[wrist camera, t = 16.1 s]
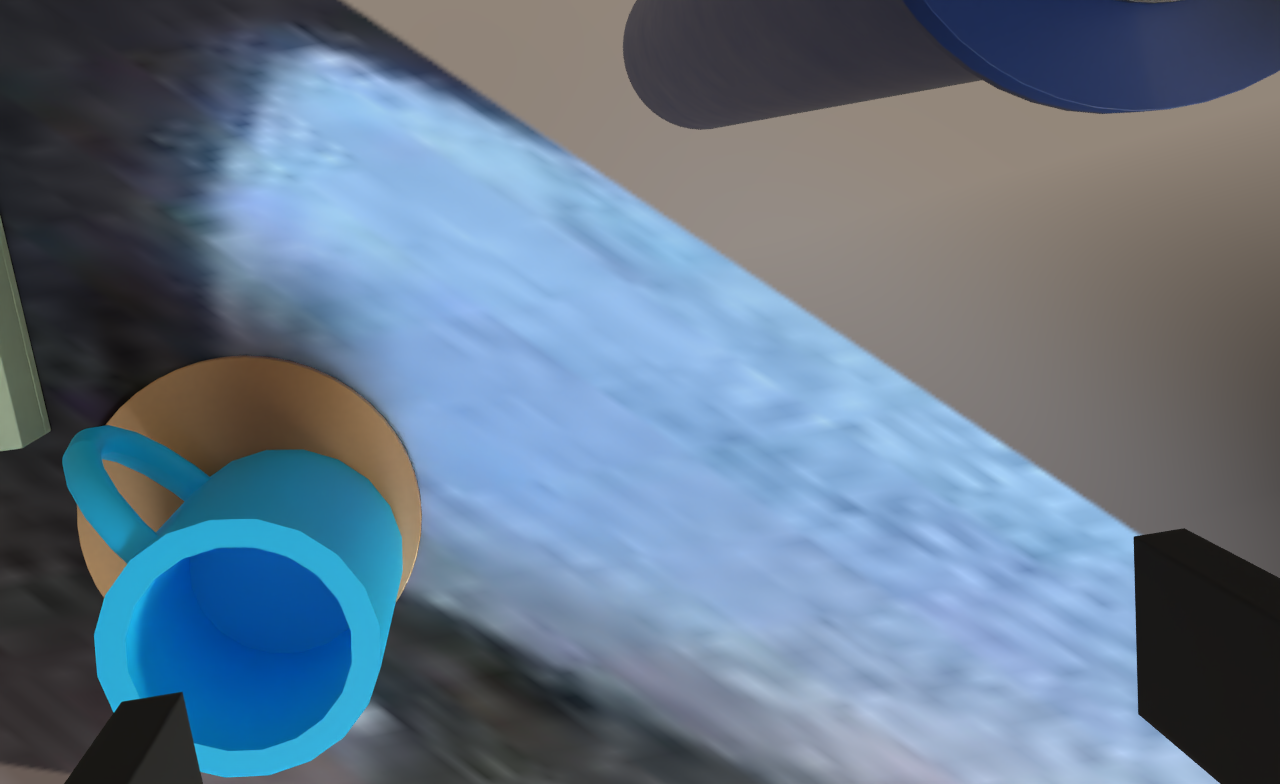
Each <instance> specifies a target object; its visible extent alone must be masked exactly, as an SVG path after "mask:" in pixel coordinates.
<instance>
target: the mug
mask: <svg viewBox="0 0 1280 784" xmlns="http://www.w3.org/2000/svg"><path fill="white" fill-rule="evenodd" d="M102 459H104V460H108V461H113V462H117V463H119V464H122V465H124V466H126V467H128V468H130V469H133V470H135V471H137V472H139V473H142V474H144V475H145V476H147V477H149V478H150V479H152V480H153V481H155V482H157V483H158V484H160V485H162V486H163V487H165V488H166V489H168V490H170V491H171V492H173V493H174V494H175V495H177V496H178V497H179V498H180V499H182V500H183V501H184V503H183V504H182V505H181V506H180V507H179V508H178V509H177V510H176V511H175V512H174V513H173V515H172V516H171V517H170V518H169V519H168V520H167V521H166V522H165V523H164V524H163V525H162V526H161V527H160V528H159V530H158V531H157V532H154V531H153V530H152V529H151V528H150V527H149V526H148V525H147V524H146V523H145V522H144V521H143V520H142V519H141V518H140V517H139V515H138V514H137V513H136V512H135V511H134V509H133V508H132V507H131V506H130V505H129V504H128V502H127V501H126V500H125V499H124V498H123V496H122V495H121V494H120V493H119V492H118V490H117V488H116V487H115V485H114V483H113V482H112V480H111V478H110V477H109V475H108V473H107V472H106V470H105V468H104V465H103V461H102ZM62 464H63V469H64V474H65V478H66V483H67V487H68V489H69V491H70V493H71V494H72V496H73V498H74V500H75V501H76V503H77V505H78V507H79V508H80V510H81V512H82V514H83V515H84V517H85V518H86V520H87V521H88V522H89V523H90V524H91V526H92V527H93V528H94V529H95V530H96V532H97V533H98V534H99V535H100V536H101V537H102V539H103V540H104V541H105V542H106V543H107V545H108V546H109V547H110V548H111V549H112V550H113V551H114V552H115V553H116V554H117V555H118V556H119V557H120V558H121V559H122V560H124V561H125V562H126V563H127V565H126V567H125V568H124V569H123V571H122V572H121V574H120V575H119V576H118V578H117V579H116V581H115V582H114V583H113V585H112V586H111V588H110V589H109V590H108V592H107V593H106V595H105V598H104V601H103V605H102V608H101V612H100V616H99V619H98V623H97V626H96V630H95V634H94V641H95V654H96V666H97V677H98V679H99V681H100V683H101V686H102V688H103V690H104V692H105V694H106V697H107V699H108V701H109V703H110V705H111V708H112V710H113V712H115V710H116V709H117V708H118V706H119V705H120V703H121V702H123V701H129V700H135V699H141V698H147V697H153V696H159V695H165V694H172V693H178V692H183V697H184V701H185V706H186V710H187V715H188V719H189V724H190V728H191V733H192V737H193V742H194V746H195V751H196V755H197V760H198V764H199V769H200V772H204V773H208V774H212V775H217V776H221V777H244V776H265V775H271V774H274V773H277V772H280V771H283V770H286V769H289V768H292V767H295V766H298V765H301V764H304V763H307V762H310V761H311V760H313V759H314V758H315V757H317V756H318V755H320V754H321V753H322V752H324V751H325V750H327V749H328V748H329V747H331V746H332V745H334V744H335V743H336V742H338V741H339V740H341V739H342V738H343V737H345V735H346V734H347V733H348V731H349V730H350V729H351V727H352V726H353V725H354V723H355V722H356V720H357V719H358V718H359V716H360V715H361V714H362V712H363V711H364V710H365V708H366V707H367V706H368V704H369V702H370V699H371V696H372V692H373V689H374V686H375V683H376V680H377V677H378V674H379V671H380V668H381V664H382V659H383V655H384V651H385V646H386V642H387V638H388V633H389V629H390V624H391V620H392V616H393V611H394V607H395V603H396V598H397V594H398V589H399V585H400V581H401V576H402V572H403V559H402V536H401V534H400V531H399V528H398V526H397V523H396V520H395V518H394V515H393V512H392V510H391V507H390V505H389V504H388V503H387V502H386V500H385V499H384V498H383V497H382V495H381V494H380V493H379V492H378V490H377V489H376V488H375V487H374V486H373V484H372V483H371V482H370V481H369V479H367V478H366V477H364V476H363V475H361V474H360V473H358V472H357V471H355V470H354V469H352V468H351V467H349V466H347V465H346V464H344V463H343V462H341V461H340V460H338V459H335V458H331V457H328V456H324V455H321V454H317V453H314V452H310V451H307V450H304V449H298V450H265V451H262V452H258V453H255V454H252V455H249V456H246V457H243V458H240V459H237V460H234V461H231V462H230V463H228V464H227V465H226V466H224V467H223V468H221V469H220V470H219V471H217V472H216V473H215V474H213V475H212V476H210V477H209V476H208V475H207V474H206V473H204V472H203V471H202V470H201V469H199V468H198V467H197V466H195V465H194V464H192V463H191V462H189V461H188V460H186V459H185V458H183V457H182V456H180V455H178V454H177V453H175V452H174V451H172V450H171V449H169V448H168V447H166V446H164V445H162V444H160V443H158V442H156V441H154V440H152V439H150V438H148V437H146V436H144V435H141V434H139V433H137V432H134V431H130V430H126V429H122V428H119V427H115V426H110V425H105V426H99V427H93V428H87V429H84V430H82V431H80V432H79V433H77V434H76V435H75V436H74V438H73V439H72V440H71V442H70V444H69V446H68V448H67V449H66V451H65V453H64V456H63V458H62Z"/></svg>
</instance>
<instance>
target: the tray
mask: <svg viewBox="0 0 1280 784" xmlns="http://www.w3.org/2000/svg"><path fill="white" fill-rule="evenodd" d="M50 431H51V428H50V424H49V420H48V416H47V411H46V407H45V403H44V399H43V395H42V390H41V386H40V382H39V378H38V373H37V369H36V365H35V361H34V356H33V352H32V348H31V344H30V339H29V335H28V331H27V327H26V322H25V318H24V314H23V310H22V306H21V301H20V297H19V293H18V289H17V284H16V280H15V276H14V272H13V267H12V263H11V259H10V255H9V250H8V246H7V242H6V238H5V234H4V229H3V225H2V221H1V217H0V451H6V450H13V449H20V448H23V447H25V446H26V445H28V444H30V443H32V442H33V441H35V440H37V439H38V438H40V437H42V436H43V435H45V434H47V433H48V432H50Z"/></svg>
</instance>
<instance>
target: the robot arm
mask: <svg viewBox="0 0 1280 784" xmlns="http://www.w3.org/2000/svg"><path fill="white" fill-rule="evenodd" d="M1117 1H1123V2H1129V3H1145V4H1154V3H1170V2H1175V1H1181V0H1117ZM1134 567H1135V605H1136V643H1137V680H1138V714H1139V715H1140V716H1141V717H1142V718H1144V719H1145V720H1146V721H1147V722H1148V723H1150V724H1151V725H1152V726H1153V727H1154V728H1155V729H1157V730H1158V731H1159V732H1160V733H1161V734H1163V735H1164V736H1165V737H1166V738H1167V739H1168V740H1170V741H1171V742H1172V743H1173V744H1174V745H1175V746H1177V747H1178V748H1179V749H1180V750H1181V751H1183V752H1184V753H1185V754H1186V755H1187V756H1188V757H1190V758H1191V759H1192V760H1193V761H1194V762H1196V763H1197V764H1198V765H1199V766H1200V767H1201V768H1203V769H1204V770H1205V771H1206V772H1207V773H1208V774H1210V775H1211V776H1212V777H1213V778H1214V779H1216V780H1217V781H1218V782H1219V783H1220V784H1280V578H1278V577H1276V576H1274V575H1273V574H1271V573H1268V572H1267V571H1265V570H1263V569H1261V568H1259V567H1257V566H1255V565H1253V564H1251V563H1250V562H1248V561H1246V560H1244V559H1242V558H1240V557H1238V556H1236V555H1234V554H1232V553H1230V552H1229V551H1227V550H1225V549H1223V548H1221V547H1219V546H1217V545H1215V544H1213V543H1211V542H1209V541H1208V540H1205V539H1204V538H1202V537H1200V536H1198V535H1196V534H1194V533H1192V532H1190V531H1188V530H1186V529H1178V530H1171V531H1165V532H1159V533H1154V534H1147V535H1141V536H1135V537H1134ZM64 784H203V782H202V778H201V773H200V769H199V764H198V760H197V755H196V751H195V746H194V742H193V737H192V733H191V728H190V724H189V719H188V715H187V710H186V706H185V701H184V697H183V692H178V693H172V694H165V695H159V696H153V697H147V698H141V699H135V700H129V701H123V702H121V703H120V705H119V706H118V708H117V709H116V710H115V712H114V713H113V715H112V716H111V718H110V719H109V720H108V722H107V723H106V725H105V726H104V728H103V729H102V730H101V732H100V733H99V735H98V736H97V738H96V739H95V740H94V742H93V743H92V745H91V746H90V748H89V749H88V750H87V752H86V753H85V755H84V756H83V758H82V759H81V760H80V762H79V763H78V765H77V766H76V768H75V769H74V770H73V772H72V773H71V775H70V776H69V778H68V779H67V781H66V782H65V783H64Z"/></svg>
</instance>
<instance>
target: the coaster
mask: <svg viewBox="0 0 1280 784" xmlns="http://www.w3.org/2000/svg"><path fill="white" fill-rule="evenodd" d="M106 425H110V426H115V427H119V428H122V429H126V430H130V431H134V432H137V433H139V434H141V435H144V436H146V437H148V438H150V439H152V440H154V441H156V442H158V443H160V444H162V445H164V446H166V447H168V448H169V449H171V450H172V451H174V452H175V453H177V454H178V455H180V456H182V457H183V458H185V459H186V460H188V461H189V462H191V463H192V464H194V465H195V466H197V467H198V468H199V469H201V470H202V471H203V472H204V473H206V474H207V475H208V476H209V477H210V476H212V475H213V474H215V473H216V472H217V471H219V470H220V469H221V468H223V467H224V466H226V465H227V464H228V463H230V462H231V461H234V460H237V459H240V458H243V457H246V456H249V455H252V454H255V453H258V452H262V451H265V450H298V449H304V450H307V451H310V452H314V453H317V454H321V455H324V456H328V457H331V458H335V459H338V460H340V461H341V462H343V463H344V464H346V465H347V466H349V467H351V468H352V469H354V470H355V471H357V472H358V473H360V474H361V475H363V476H364V477H366V478H367V479H369V481H370V482H371V483H372V484H373V486H374V487H375V488H376V489H377V490H378V492H379V493H380V494H381V495H382V497H383V498H384V499H385V500H386V502H387V503H388V504H389V505H390V507H391V510H392V512H393V515H394V518H395V520H396V523H397V526H398V528H399V531H400V534H401V536H402V559H403V572H402V576H401V581H400V585H399V589H398V594H397V598H396V601H397V600H398V598H399V597H400V595H401V594H402V592H403V590H404V588H405V586H406V584H407V582H408V580H409V577H410V575H411V572H412V569H413V566H414V563H415V560H416V557H417V553H418V547H419V542H420V536H421V520H422V511H421V500H420V492H419V488H418V484H417V479H416V475H415V472H414V469H413V467H412V464H411V462H410V459H409V456H408V454H407V452H406V450H405V448H404V447H403V445H402V443H401V441H400V439H399V438H398V436H397V434H396V433H395V432H394V430H393V429H392V428H391V426H390V425H389V423H388V422H387V421H386V419H385V418H384V417H383V416H382V415H381V414H380V413H379V412H378V411H377V410H376V409H375V408H374V407H373V406H372V405H371V404H370V403H369V402H368V401H367V400H366V399H365V398H363V397H362V396H361V395H360V394H358V393H357V392H356V391H355V390H353V389H352V388H350V387H349V386H347V385H346V384H344V383H342V382H341V381H339V380H337V379H336V378H334V377H332V376H330V375H328V374H326V373H324V372H321V371H319V370H317V369H315V368H312V367H309V366H306V365H303V364H300V363H296V362H293V361H290V360H284V359H278V358H273V357H266V356H248V355H243V356H229V357H219V358H214V359H209V360H204V361H200V362H197V363H194V364H191V365H188V366H185V367H182V368H179V369H177V370H174V371H172V372H170V373H168V374H166V375H164V376H162V377H160V378H158V379H156V380H155V381H153V382H152V383H150V384H149V385H147V386H146V387H144V388H143V389H141V390H140V391H138V392H137V393H136V394H135V395H134V396H132V397H131V398H130V399H129V400H128V401H127V402H126V403H125V404H123V405H122V406H121V407H120V408H119V409H118V410H117V412H116V413H115V414H114V415H113V416H112V418H111V419H110V420H109V421H108V422H107V423H106ZM102 461H103V465H104V468H105V470H106V472H107V473H108V475H109V477H110V478H111V480H112V482H113V483H114V485H115V487H116V488H117V490H118V492H119V493H120V494H121V495H122V496H123V498H124V499H125V500H126V501H127V502H128V504H129V505H130V506H131V507H132V508H133V509H134V511H135V512H136V513H137V514H138V515H139V517H140V518H141V519H142V520H143V521H144V522H145V523H146V524H147V525H148V526H149V527H150V528H151V529H152V530H153V531H154V532H157V531H158V530H159V528H160V527H161V526H162V525H163V524H164V523H165V522H166V521H167V520H168V519H169V518H170V517H171V516H172V515H173V513H174V512H175V511H176V510H177V509H178V508H179V507H180V506H181V505H182V504H183V503H184V501H183V500H182V499H180V498H179V497H178V496H177V495H175V494H174V493H173V492H171V491H170V490H168V489H166V488H165V487H163V486H162V485H160V484H158V483H157V482H155V481H153V480H152V479H150V478H149V477H147V476H145V475H144V474H142V473H139V472H137V471H135V470H133V469H130V468H128V467H126V466H124V465H122V464H119V463H117V462H113V461H108V460H104V459H102ZM77 526H78V532H79V538H80V545H81V549H82V552H83V555H84V558H85V561H86V565H87V568H88V570H89V572H90V574H91V576H92V578H93V580H94V582H95V585H96V587H97V588H98V590H99V591H100V593H101V594H102V596H103V597H104V598H105V595H106V593H107V592H108V590H109V589H110V588H111V586H112V585H113V583H114V582H115V581H116V579H117V578H118V576H119V575H120V574H121V572H122V571H123V569H124V568H125V567H126V565H127V563H126V562H125V561H124V560H122V559H121V558H120V557H119V556H118V555H117V554H116V553H115V552H114V551H113V550H112V549H111V548H110V547H109V546H108V545H107V543H106V542H105V541H104V540H103V539H102V537H101V536H100V535H99V534H98V533H97V532H96V530H95V529H94V528H93V527H92V526H91V524H90V523H89V522H88V521H87V520H86V518H85V517H84V515H83V514H82V512H81V510H80V508H79V507H78V505H77Z"/></svg>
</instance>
